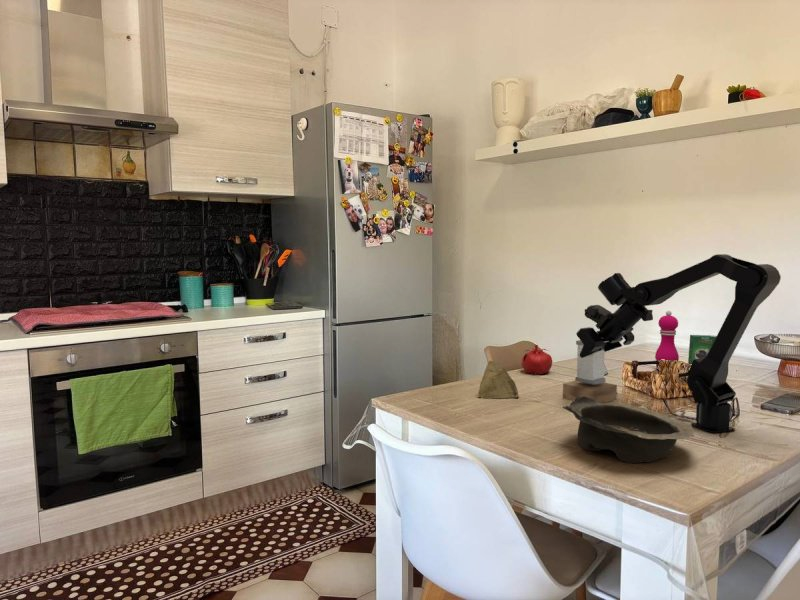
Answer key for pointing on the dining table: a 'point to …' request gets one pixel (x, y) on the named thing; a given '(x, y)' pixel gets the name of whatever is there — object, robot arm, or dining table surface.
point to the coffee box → (699, 346)
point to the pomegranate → (536, 361)
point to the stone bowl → (627, 430)
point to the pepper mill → (667, 338)
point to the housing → (590, 366)
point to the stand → (590, 391)
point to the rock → (497, 383)
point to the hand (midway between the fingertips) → (586, 355)
